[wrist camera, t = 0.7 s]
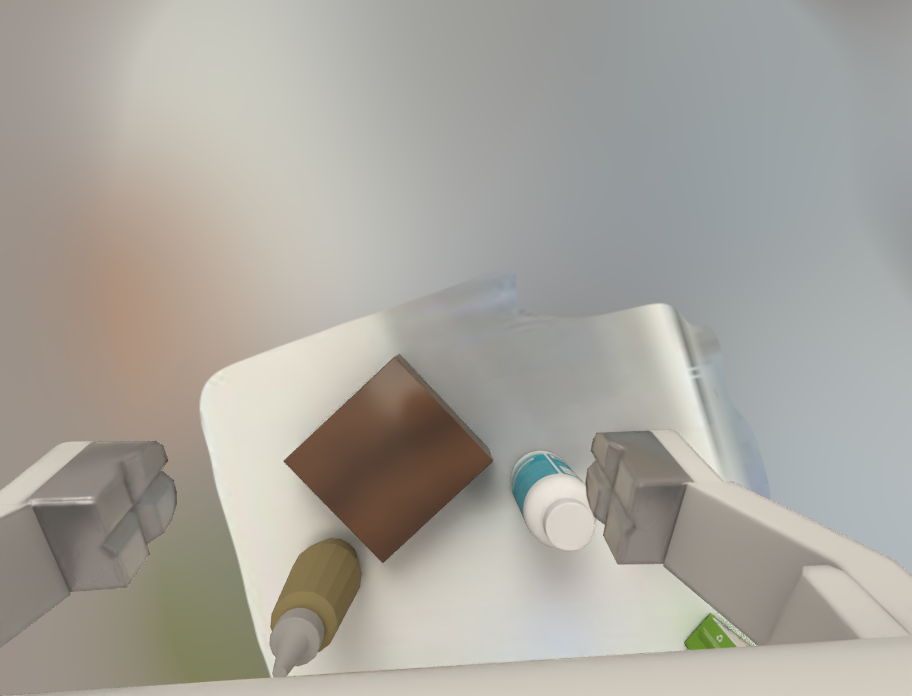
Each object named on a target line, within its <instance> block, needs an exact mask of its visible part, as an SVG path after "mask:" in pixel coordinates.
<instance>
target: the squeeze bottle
mask: <svg viewBox="0 0 912 696" xmlns="http://www.w3.org/2000/svg"><path fill="white" fill-rule="evenodd" d="M360 581H361V571H360V567H359V563H358V559H357V555H356V552H355V550H354V549H353V548H352V546H351V545H350V544H349V543H347V542H345V541H343V540H341V539H333V538H331V539H327V540H324V541H321V542H319V543H317V544H315V545H313V546H310V547H309V548H308V549H306V550H305V551H304V552H303V553H301V554H300V555H299V556H298V558H297V560H296V562H295V564H294V565H293V567H292V569H291V572H290V574H289V576H288V578H287V581H286V583H285V585H284V587H283V590H282V592H281V594H280V596H279V599H278V601H277V603H276V605H275V608H274V610H273V612H272V616H271V626H270V627H271V630H272V633H271V635H270V647H271V650H272V653H273V655H274V656H275V657H276V659H275V664H274V668H273V677H274V678H275V677H286V676H287V675H288V673H289V672H290V671H291V670H292V669H293V667H294V666H300V665H303V664H307V663H308V662H309V661H311V660H312V659H313V658H314V657H315V656H316V654H317V652H320V651H321V650H323V649H324V648H325V647H326V646H328V645H329V644H330V642H331V641H332V639H333V637H334V635H335V633H336V632H337V630H338V628H339V626H340V624H341V622H342V620H343V618H344V616H345V614H346V613H347V611H348V609H349V607H350V605H351V603H352V601H353V599H354V597H355V595H356V594H357V592H358V590H359V588H360Z"/></svg>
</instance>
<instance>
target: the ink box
mask: <svg viewBox="0 0 912 696" xmlns="http://www.w3.org/2000/svg"><path fill="white" fill-rule="evenodd" d="M685 645H686V647H687V648H688V649H689V650H700V649H716V648H731V647H746V646H750V645H749V644H748V643H747V642H745V641H744V640H743V639H742V638H740V637H739V636H738V635H737V634H735V633H734V632H733V631H732V630H730V629H729V628H728V627H727V626H725V625H724V624H723V623H722V622H720V621H719V620H718V619H717V618H715V617H714V616H713V615H711V614H709V616H708V617H707V618H706V619H705V620H704V622H703V623H702V624H701V625H700V626H699V627H698V628H697V629H696V630H695V632H694V633H693V634H692V635H691V636H690V637H689V638H688V640H687V641H686V642H685Z"/></svg>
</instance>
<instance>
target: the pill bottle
mask: <svg viewBox="0 0 912 696" xmlns="http://www.w3.org/2000/svg"><path fill="white" fill-rule="evenodd" d="M510 483H511V489H512V492H513V495H514V497H515V499H516V501H517V504H518V506H519V508H520V511H521V513H522V515H523V518H524V520H525V523H526V525H527V527H528V529H529V531H530V532H531V533H532V535H533V536H534V537H535V538H536V539H537V540H538V541H540V542H541V543H543V544H545V545H547V546H549V547H553V548H559V549H561V550H564V551H575V550H578V549H580V548H582V547H584V546H585V545H587V543H588V542H589V541H590V540H591V538H592V536H593V533H594V528H595V522H596V518H595V517H594V516H593V513H592V511H591V509H590V507H589V503H588V500H587V495H586V485H585V484H584V483H583V482H582V481H581V479H580V478H579V477H578V476H577V475H576V474H575V473H574V472H573V471H572V470H571V468H570V467H569V466H568V465H567V464H566V463H565V462H564V461H563V460H562V459H561V458H560V457H559V456H557V455H556V454H554V453H551V452H548V451H534V452H530V453H528V454H526V455H524V456H523V457H522V458H520V459H519V460H518V462H517V463H516V464H515V466H514V468H513V470H512V473H511V480H510Z"/></svg>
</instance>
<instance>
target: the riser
mask: <svg viewBox="0 0 912 696" xmlns="http://www.w3.org/2000/svg"><path fill="white" fill-rule="evenodd" d="M492 461H493V459H492V456H491V453H490V450H489V448H488V447H487V446H486V445H485V444H484V443H483V442H482V441H481V440H480V438H479V437H478V436H477V435H476V434H475V433H474V432H473V431H472V430H471V429H470V428H469V427H468V426H467V425H466V424H465V423H464V422H463V420H462V419H461V418H460V417H459V416H458V415H457V414H456V413H455V412H454V411H453V410H452V409H451V408H450V407H449V406H448V405H447V404H446V402H445V401H444V400H443V399H442V398H441V397H440V396H439V395H438V394H437V393H436V392H435V391H434V390H433V389H432V388H431V387H430V386H429V385H428V383H427V382H426V381H425V380H424V379H423V378H422V377H421V376H420V375H419V374H418V373H417V372H416V371H415V370H414V369H413V368H412V367H411V365H410V364H409V363H408V362H407V361H406V360H405V359H404V358H403V357H402V356H401V355H400V354H399V355H397V356H395V357H394V358H393V359H392V360H391V361H390V362H389V363H388V364H386V365H385V366H384V367H383V368H382V369H381V370H380V371H379V372H378V373H377V374H376V375H375V376H374V377H373V378H372V379H370V380H369V381H368V382H367V383H366V384H365V385H364V386H363V387H362V388H361V389H360V390H359V391H358V392H357V393H356V394H354V395H353V396H352V397H351V398H350V399H349V400H348V401H347V402H346V403H345V404H344V405H343V406H342V407H341V408H340V409H338V410H337V411H336V412H335V413H334V414H333V415H332V416H331V417H330V418H329V419H328V420H327V421H326V422H325V423H324V424H322V425H321V426H320V427H319V428H318V429H317V430H316V431H315V432H314V433H313V434H312V435H311V436H310V437H309V438H308V439H306V440H305V441H304V442H303V443H302V444H301V445H300V446H299V447H298V448H297V449H296V450H295V451H294V452H293V453H292V454H290V455H289V456H288V457H287V458H286V459H285V460H284V462H285V463H286V464H287V465H288V466H289V467H290V468H291V469H292V470H293V471H294V473H295V474H296V475H297V476H298V477H299V478H300V479H301V480H302V481H303V482H304V483H305V484H306V485H307V486H308V487H309V488H310V489H311V490H312V491H313V492H314V493H315V494H316V495H317V496H318V497H319V498H320V499H321V500H322V501H323V502H324V503H325V504H326V505H327V506H328V507H329V508H330V509H331V510H332V511H333V512H334V513H335V514H336V515H337V517H338V518H339V519H340V520H341V521H342V522H343V523H344V524H345V525H346V526H347V527H348V528H349V529H350V530H351V531H352V532H353V533H354V534H355V535H356V536H357V537H358V538H359V539H360V540H361V541H362V542H363V543H364V544H365V545H366V546H367V547H368V548H369V549H370V550H371V551H372V552H373V553H374V554H375V555H376V556H377V557H378V558H379V560H380V561H381V562H382V563H383V562H385V561H386V560H387V559H388V558H389V557H390V556H391V555H392V554H393V553H394V552H395V551H396V550H398V549H399V548H400V547H401V546H402V545H403V544H404V543H405V542H406V541H407V540H408V539H409V538H410V537H412V536H413V535H414V534H415V533H416V532H417V531H418V530H419V529H420V528H421V527H422V526H423V525H424V524H426V523H427V522H428V521H429V520H430V519H431V518H432V517H433V516H434V515H435V514H436V513H437V512H438V511H440V510H441V509H442V508H443V507H444V506H445V505H446V504H447V503H448V502H449V501H450V500H451V499H453V498H454V497H455V496H456V495H457V494H458V493H459V492H460V491H461V490H462V489H463V488H464V487H465V486H467V485H468V484H469V483H470V482H471V481H472V480H473V479H474V478H475V477H476V476H477V475H478V474H479V473H481V472H482V471H483V470H484V469H485V468H486V467H487V466H488V465H489V464H490V463H491V462H492Z"/></svg>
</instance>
